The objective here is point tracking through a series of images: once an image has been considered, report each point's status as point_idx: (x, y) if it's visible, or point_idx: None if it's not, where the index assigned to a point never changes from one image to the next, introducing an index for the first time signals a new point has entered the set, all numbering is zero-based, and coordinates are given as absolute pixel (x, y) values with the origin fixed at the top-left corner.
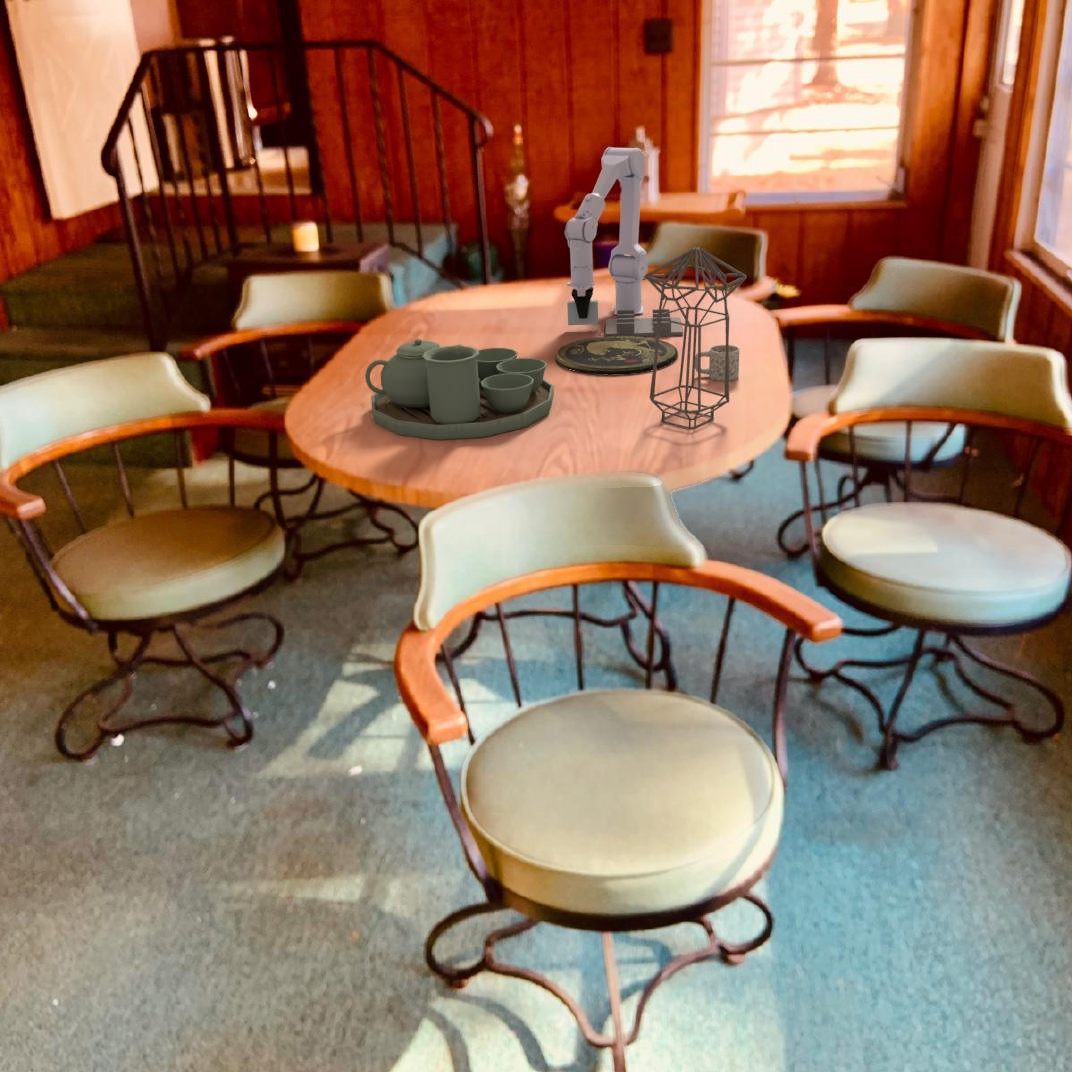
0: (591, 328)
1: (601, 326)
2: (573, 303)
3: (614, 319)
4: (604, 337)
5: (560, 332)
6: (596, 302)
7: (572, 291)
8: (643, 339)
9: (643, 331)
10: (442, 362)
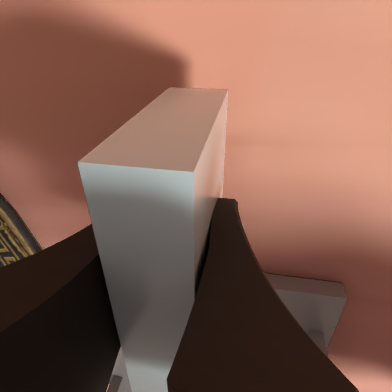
0: (247, 211)
1: (277, 256)
2: (101, 230)
3: (326, 323)
4: (9, 252)
5: (176, 13)
6: (133, 385)
7: (170, 381)
8: None
9: (119, 359)
10: None
